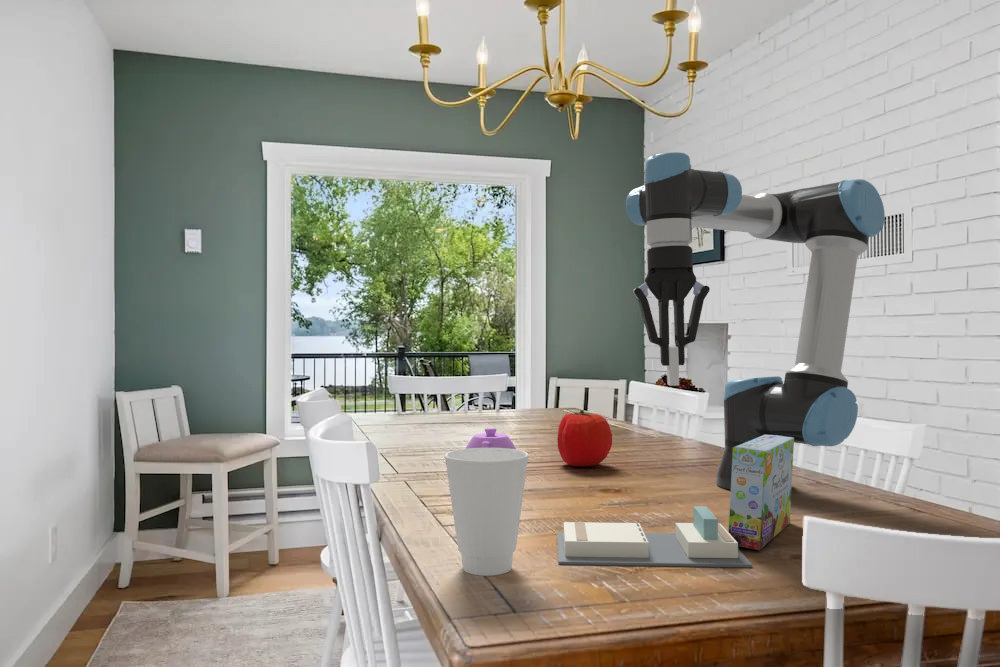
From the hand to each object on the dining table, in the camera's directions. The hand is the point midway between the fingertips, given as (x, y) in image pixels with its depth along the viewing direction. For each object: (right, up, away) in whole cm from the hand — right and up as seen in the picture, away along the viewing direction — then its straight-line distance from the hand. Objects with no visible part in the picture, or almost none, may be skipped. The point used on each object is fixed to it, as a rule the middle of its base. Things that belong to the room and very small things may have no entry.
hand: (673, 384), depth 128 cm
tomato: (-9, -24, +56) cm, 62 cm away
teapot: (-32, -24, +49) cm, 63 cm away
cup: (-31, -24, -23) cm, 46 cm away
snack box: (+13, -24, -7) cm, 28 cm away
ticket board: (-8, -24, -14) cm, 29 cm away
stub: (+1, -23, -15) cm, 28 cm away
